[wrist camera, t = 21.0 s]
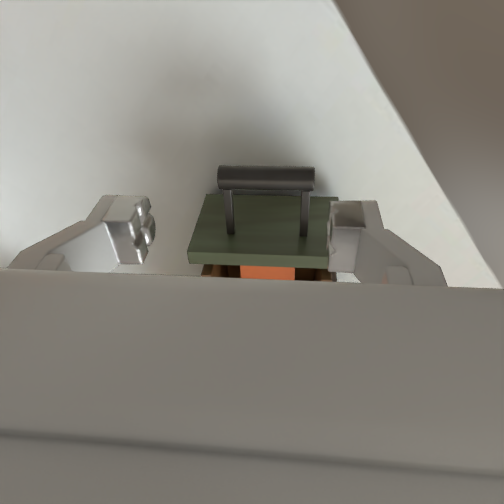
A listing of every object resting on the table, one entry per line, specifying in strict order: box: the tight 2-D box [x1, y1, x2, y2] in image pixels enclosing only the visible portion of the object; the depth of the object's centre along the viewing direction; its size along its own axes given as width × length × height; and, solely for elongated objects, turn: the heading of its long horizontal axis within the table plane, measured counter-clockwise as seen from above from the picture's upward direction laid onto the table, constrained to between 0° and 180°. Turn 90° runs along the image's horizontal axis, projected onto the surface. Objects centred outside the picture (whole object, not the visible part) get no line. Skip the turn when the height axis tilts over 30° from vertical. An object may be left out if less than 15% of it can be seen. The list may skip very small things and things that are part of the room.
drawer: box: [187, 165, 339, 282], centre depth 34 cm, size 19×11×8 cm, turn 2°
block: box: [240, 266, 295, 280], centre depth 35 cm, size 4×4×4 cm
